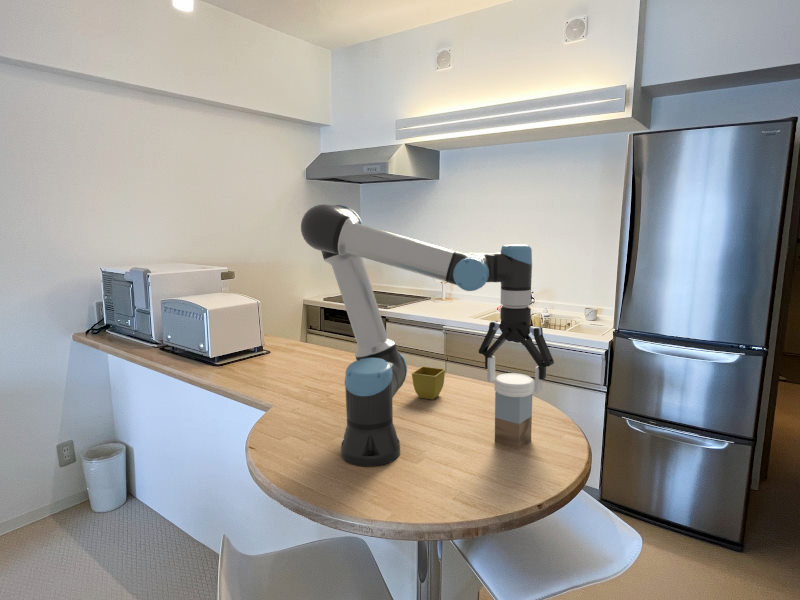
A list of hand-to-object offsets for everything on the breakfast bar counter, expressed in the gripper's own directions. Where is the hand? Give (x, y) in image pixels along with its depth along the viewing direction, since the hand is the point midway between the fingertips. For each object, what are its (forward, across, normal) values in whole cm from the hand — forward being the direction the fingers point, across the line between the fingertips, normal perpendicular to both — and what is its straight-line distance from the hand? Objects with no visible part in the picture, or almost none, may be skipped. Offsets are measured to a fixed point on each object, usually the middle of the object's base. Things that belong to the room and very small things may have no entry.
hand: (513, 385), depth 126 cm
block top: (+8, 0, 0) cm, 8 cm away
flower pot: (+16, +38, -12) cm, 43 cm away
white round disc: (+2, 0, 0) cm, 2 cm away
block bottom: (+15, 0, 0) cm, 15 cm away
